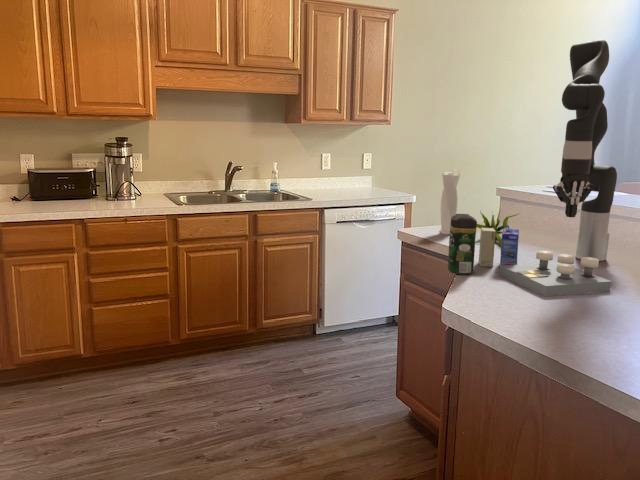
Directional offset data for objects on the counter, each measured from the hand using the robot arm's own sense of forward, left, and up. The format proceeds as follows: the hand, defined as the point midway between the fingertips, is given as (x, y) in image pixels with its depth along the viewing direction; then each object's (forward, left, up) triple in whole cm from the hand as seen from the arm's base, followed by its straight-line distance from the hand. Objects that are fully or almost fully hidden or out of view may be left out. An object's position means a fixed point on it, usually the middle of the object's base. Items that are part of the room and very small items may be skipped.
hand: (570, 216), depth 162 cm
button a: (-7, -8, -19) cm, 21 cm away
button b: (-7, +2, -17) cm, 19 cm away
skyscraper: (-3, -77, -21) cm, 80 cm away
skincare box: (+10, -26, -21) cm, 35 cm away
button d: (+1, +2, -19) cm, 19 cm away
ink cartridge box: (+4, -22, -21) cm, 31 cm away
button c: (+1, -8, -17) cm, 19 cm away
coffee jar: (+23, -20, -21) cm, 37 cm away
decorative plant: (-13, -54, -21) cm, 60 cm away
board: (+1, -3, -21) cm, 21 cm away
